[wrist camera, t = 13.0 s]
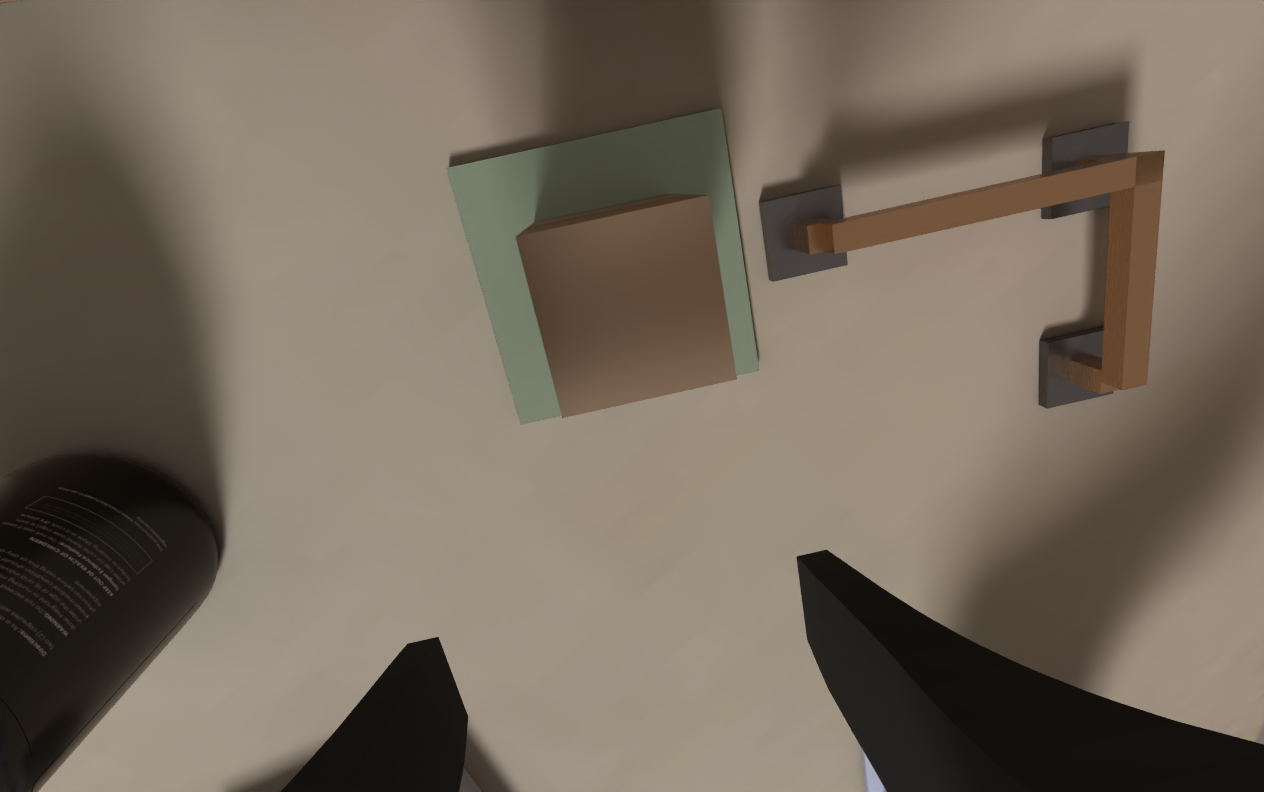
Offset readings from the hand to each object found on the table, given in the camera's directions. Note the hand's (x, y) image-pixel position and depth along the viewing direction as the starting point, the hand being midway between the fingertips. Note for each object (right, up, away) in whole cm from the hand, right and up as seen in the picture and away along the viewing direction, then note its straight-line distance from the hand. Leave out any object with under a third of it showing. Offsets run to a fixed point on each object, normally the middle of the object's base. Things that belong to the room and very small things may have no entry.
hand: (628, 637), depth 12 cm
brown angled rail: (+10, +8, +8) cm, 15 cm away
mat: (0, +8, +7) cm, 11 cm away
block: (0, +8, +7) cm, 11 cm away
